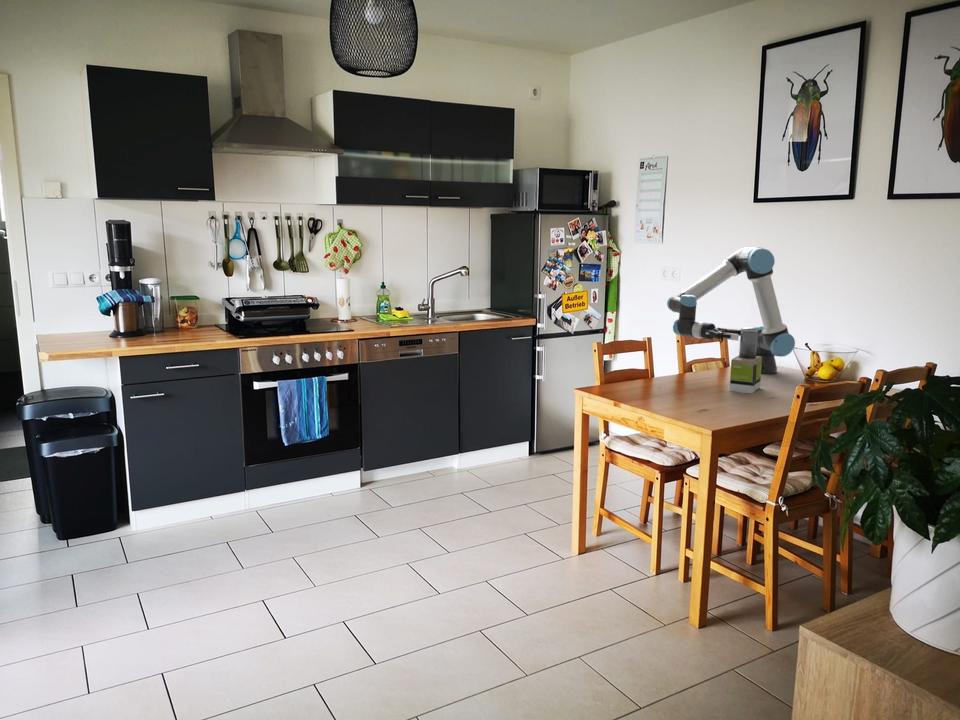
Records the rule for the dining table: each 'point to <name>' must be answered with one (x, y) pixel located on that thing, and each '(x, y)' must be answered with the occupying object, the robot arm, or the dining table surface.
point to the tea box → (745, 374)
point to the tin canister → (748, 343)
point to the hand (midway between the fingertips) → (746, 336)
